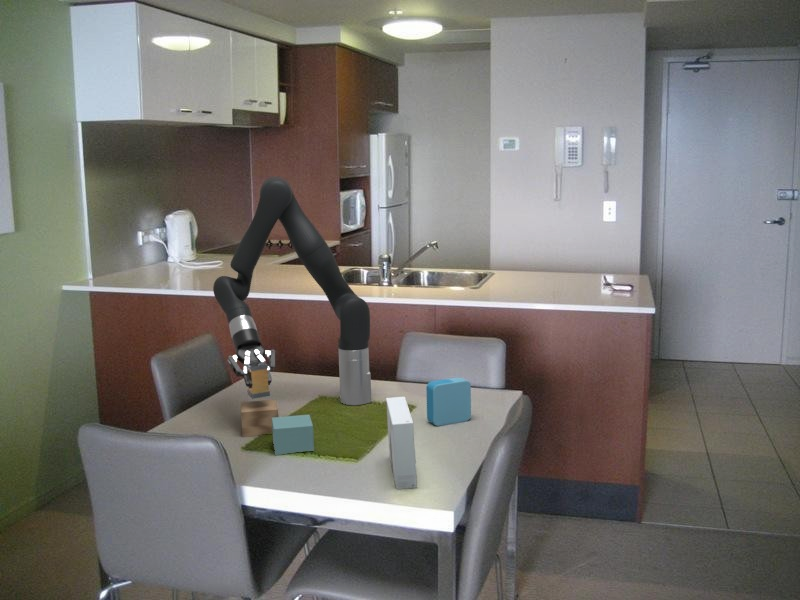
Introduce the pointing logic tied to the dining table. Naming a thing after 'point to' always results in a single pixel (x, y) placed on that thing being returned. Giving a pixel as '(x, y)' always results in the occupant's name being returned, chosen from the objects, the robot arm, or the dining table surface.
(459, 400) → the blue rounded flat block
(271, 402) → the stand
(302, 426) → the stand
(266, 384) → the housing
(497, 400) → the dining table surface
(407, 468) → the skincare box
